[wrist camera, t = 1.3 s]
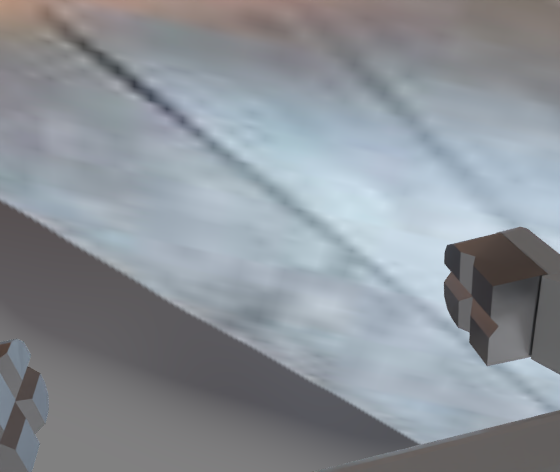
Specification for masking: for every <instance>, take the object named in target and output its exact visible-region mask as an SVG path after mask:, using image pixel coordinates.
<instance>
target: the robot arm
mask: <svg viewBox="0 0 560 472" xmlns="http://www.w3.org/2000/svg"><path fill="white" fill-rule="evenodd" d="M444 264H445V265H446V266H447V267H448V268H449V270H450V271H451V273H450V274H449V276H448V277H447V279H446V280H445V282H444V297H445V301H446V305H447V309H448V311H449V314H450V316H451V318H452V319H453V321H454V322H455V324H456V325H457V327H458V328H461V329H463V330H465V331H468V332H470V338H469V343H470V344H471V345H472V347H473V348H474V349H475V351H476V352H477V353H478V355H479V356H480V357H481V359H482V360H483V361H484V363H485V364H486V365H487V366H490V365H495V364H499V363H504V362H509V361H514V360H518V359H523V358H528V357H531V359H532V360H534V361H536V362H538V363H539V364H541V365H543V366H545V367H547V368H549V369H551V370H552V371H554V372H556V373H558V374H560V254H559V253H557V252H556V251H555V250H554V249H552V248H551V247H550V246H549V245H547V244H546V243H545V242H543V241H542V240H541V239H540V238H538V237H537V236H536V235H535V234H533V233H532V232H531V231H530V230H528V229H527V228H523V227H518V228H514V229H510V230H506V231H502V232H498V233H496V234H492V235H488V236H484V237H479V238H475V239H471V240H467V241H462V242H458V243H454V244H450V245H447V247H446V250H445V258H444ZM30 357H31V354H30V352H29V351H28V349H27V347H26V345H25V343H24V342H23V341H21V340H18V339H13V340H8V341H3V342H0V472H32V469H33V466H34V462H35V458H36V455H37V452H38V448H39V445H40V444H39V441H38V440H37V438H36V436H35V434H36V433H37V432H38V431H39V430H40V429H41V427H42V426H43V425H44V424H45V422H46V419H47V415H48V410H49V408H48V392H47V388H46V385H45V382H44V380H43V378H42V376H41V374H40V373H39V372H37V371H35V370H33V369H31V368H30V367H28V363H29V360H30ZM313 472H560V410H558V411H554V412H550V413H546V414H542V415H538V416H534V417H530V418H526V419H522V420H518V421H515V422H511V423H507V424H503V425H499V426H495V427H491V428H486V429H482V430H478V431H474V432H470V433H466V434H462V435H458V436H454V437H450V438H446V439H442V440H438V441H434V442H430V443H426V444H422V445H418V446H414V447H410V448H406V449H402V450H398V451H394V452H389V453H385V454H381V455H377V456H374V457H369V458H365V459H361V460H357V461H353V462H349V463H346V464H341V465H337V466H333V467H329V468H325V469H321V470H318V471H313Z"/></svg>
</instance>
